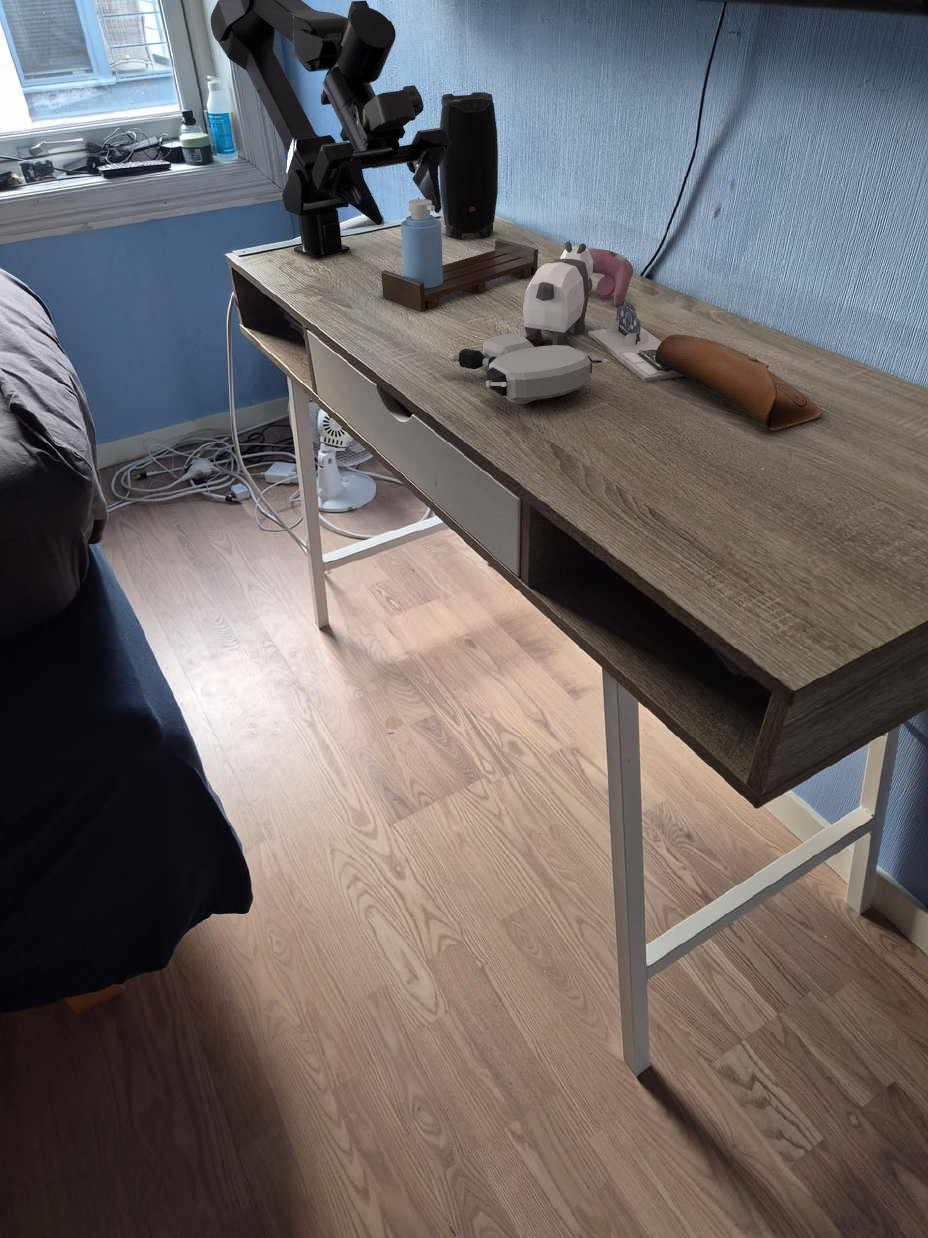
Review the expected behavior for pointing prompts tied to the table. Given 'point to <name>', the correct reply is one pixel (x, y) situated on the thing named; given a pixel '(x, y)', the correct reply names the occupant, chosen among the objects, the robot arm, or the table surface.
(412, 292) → the rack
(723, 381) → the sunglasses case
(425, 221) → the bottle
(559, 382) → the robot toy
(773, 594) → the table surface
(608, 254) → the video game controller
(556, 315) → the giant panda
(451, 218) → the portable speaker
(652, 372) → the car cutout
